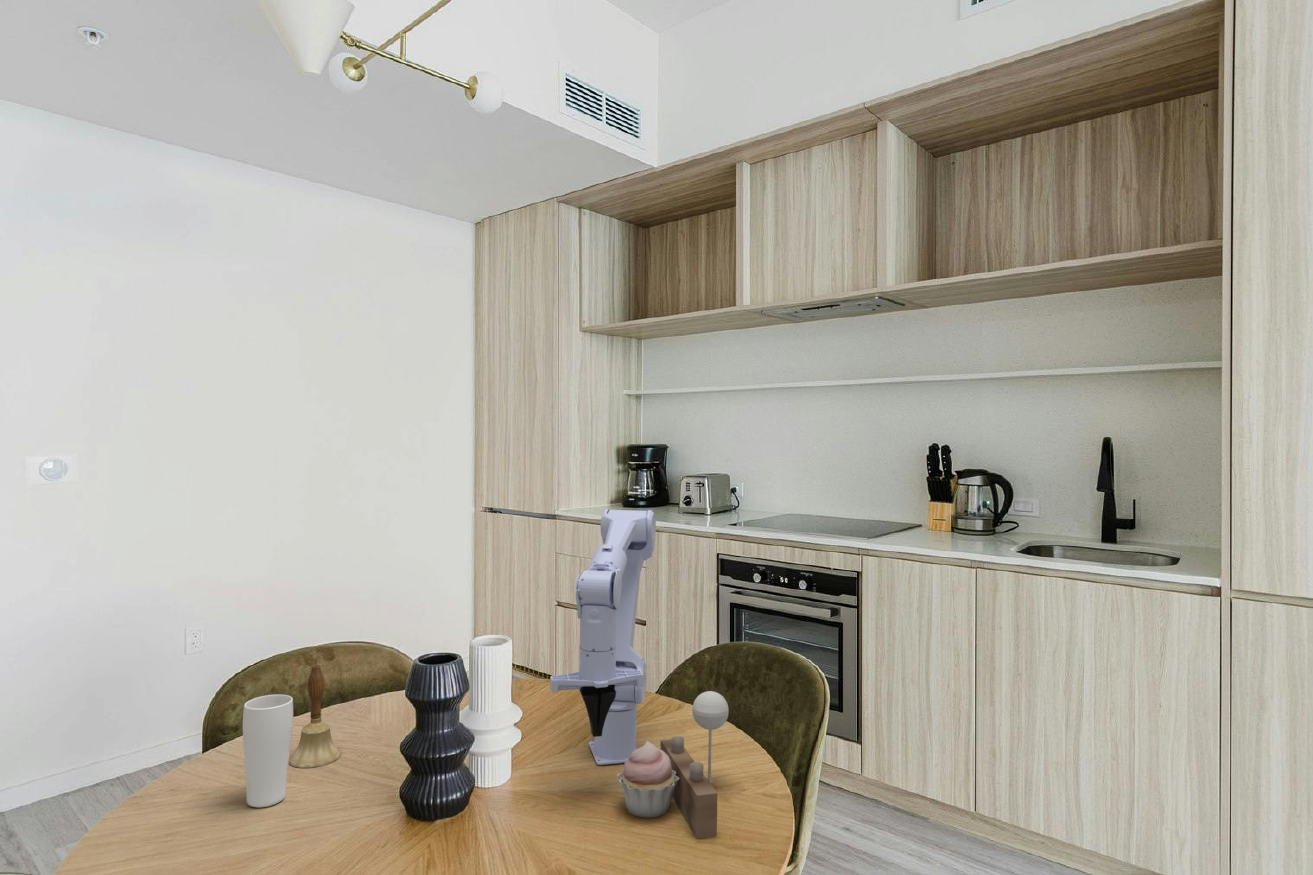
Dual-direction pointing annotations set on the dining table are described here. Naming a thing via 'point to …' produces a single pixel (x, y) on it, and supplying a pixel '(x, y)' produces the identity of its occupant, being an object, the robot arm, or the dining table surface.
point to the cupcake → (648, 781)
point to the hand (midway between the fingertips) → (596, 734)
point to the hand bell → (315, 731)
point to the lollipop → (710, 715)
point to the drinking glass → (267, 748)
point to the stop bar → (692, 790)
